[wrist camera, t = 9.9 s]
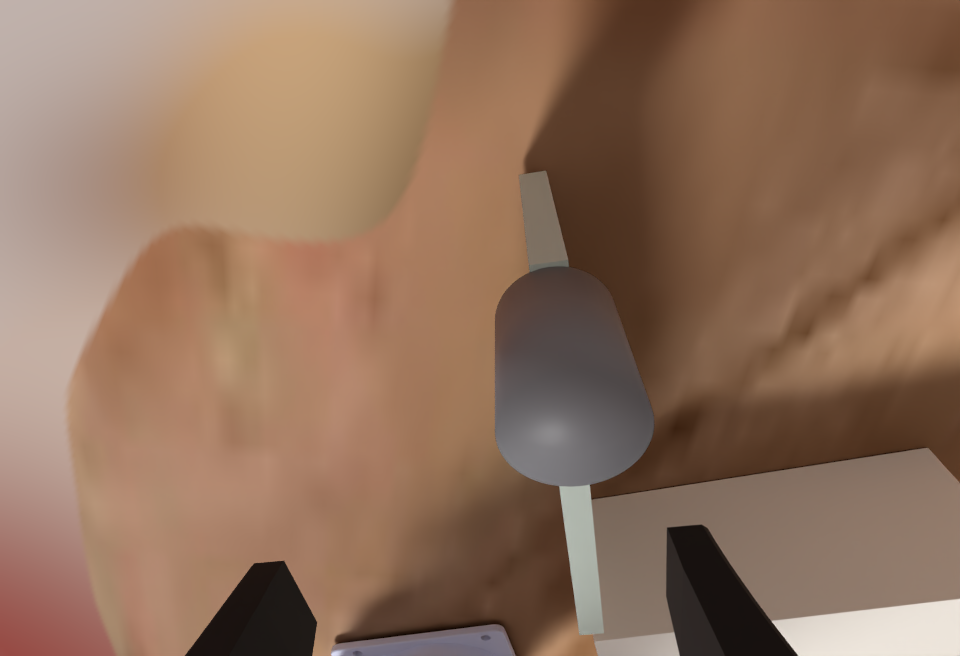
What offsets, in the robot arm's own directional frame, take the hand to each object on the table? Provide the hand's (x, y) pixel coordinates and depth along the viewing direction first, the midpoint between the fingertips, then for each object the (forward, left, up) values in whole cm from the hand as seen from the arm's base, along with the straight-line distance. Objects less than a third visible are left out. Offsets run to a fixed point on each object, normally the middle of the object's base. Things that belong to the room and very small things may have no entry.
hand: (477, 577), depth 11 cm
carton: (+8, -15, -10) cm, 20 cm away
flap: (+2, -3, -10) cm, 10 cm away
